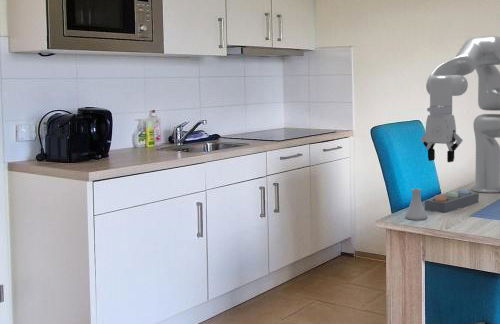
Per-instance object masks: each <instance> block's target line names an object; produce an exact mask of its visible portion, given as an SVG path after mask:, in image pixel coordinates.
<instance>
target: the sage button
mask: <svg viewBox="0 0 500 324" xmlns="http://www.w3.org/2000/svg"><path fill="white" fill-rule="evenodd" d="M446 194H447V197H448V198H458V192H457V191H447V192H446Z"/></svg>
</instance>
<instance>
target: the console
mask: <svg viewBox="0 0 500 324" xmlns="http://www.w3.org/2000/svg"><path fill="white" fill-rule="evenodd" d="M456 192H458V190H457V191H456ZM479 193H480V192H474V191H473V192H471V191H469V194H468V195H461V194H458V198H448V197H447V201H444V202H441V201H435V197H432V198H429V199H425V200H424V210H425V211H429V210H430V211H431V212H436V211H437V213H443V212H444V213H445V212H446V213H449V212H453V211H455V210H458V208H459V209H462V208H465V207H468V206H471V205H474V204H478V203H479V195H480V194H479ZM445 195H446V196H447V193H445ZM448 211H449V212H448Z"/></svg>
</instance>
